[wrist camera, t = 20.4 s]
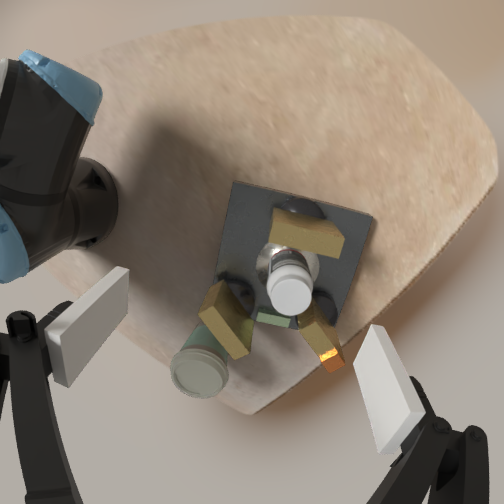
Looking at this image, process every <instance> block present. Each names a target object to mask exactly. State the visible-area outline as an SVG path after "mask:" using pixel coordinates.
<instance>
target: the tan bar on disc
mask: <svg viewBox="0 0 504 504" xmlns="http://www.w3.org/2000/svg"><path fill="white" fill-rule="evenodd" d="M311 295H312V298H311V303H310V305H309V306H308V308H307V309H306V310H305V311H304V312H302V313H300V314H297V315H295V321H296V324H297V326H298V327H299V332H300V333H301V334H302V336H303V337H304V338H305V340H306V341H307V342H308V344H309V345H310V346H311V348H312V349H313V350H314V352H315V353H316V354H317V356H318V357H319V358H320V360H321V363H322V364H323V366H324V367H325V368H326V369H327V371H328V372H329V373H331V372H333V371H335V370H337V369H339V368H341V367H343V366H345V360H344V357H343V353H342V349H341V346H340V342H339V339H338V335H337V332H336V330H335V328H334V327H333V326H334V325H335V323H336V321H337V318H338V311H337V308H336V305H335V302H334V300H333V299H332V297H331V296H329V295H328V294H326V293H323V292H312V294H311Z"/></svg>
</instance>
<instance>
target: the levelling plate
mask: <svg viewBox="0 0 504 504" xmlns="http://www.w3.org/2000/svg"><path fill="white" fill-rule="evenodd" d="M294 197H304V196H300V195H296V194H292V193H288V192H284V191H279V190H275V189H271V188H267V187H262V186H258V185H253V184H249V183H244V182H240V181H234V182H233V186H232V191H231V195H230V200H229V205H228V210H227V215H226V220H225V225H224V230H223V235H222V240H221V245H220V250H219V256H218V261H217V266H216V271H215V277H214V282H213V285H214V284H216V283H218V282H219V281H221V280H223V279H224V281H225V280H229V279H237V280H241V281H243V282H245V283H246V284H248V285H249V286H250V287H251V288H252V290H253V292H254V295H255V305H254V310H253V313H252V315H251V316H250V317H251V318H252V319H253V320H254V321H258V322H263V323H267V324H272V325H277V326H282V327H287V328H292V329H297V330H299V327H298V326H297V324H296V321H295V315H293V316H289V315H284V314H281V313H279V312H278V311H277V310H276V309H275V308H274V307H273V305H272V302H271V299H270V297H269V295H268V293H267V271H268V263H269V261H270V259H271V257H272V256H273V255H274V254H275V253H276V252H278V251H280V250H283V249H293V250H296V251H298V252H300V253H301V254H302V255H303V256H304V257H305V259H306V260H307V263H308V266H309V270H310V274H311V277H312V281H313V291H312V292H323V293H326V294H328V295H329V296H331V297H332V299H333V300H334V302H335V305H336V308H337V311H338V317H339V315H340V312H341V310H342V307H343V304H344V302H345V299H346V296H347V293H348V291H349V288H350V285H351V282H352V279H353V277H354V274H355V271H356V268H357V265H358V262H359V259H360V256H361V253H362V250H363V247H364V244H365V240H366V237H367V234H368V231H369V228H370V224H371V221H372V218H373V217H372V216H371V215H370V214H368V213H364V212H360V211H357V210H353V209H350V208H346V207H342V206H339V205H335V204H331V203H327V202H324V201H320V200H316V199H312V198H309V199H311V200H313V201H314V202H316V203H317V204H318V206H319V207H320V208H321V210H322V211H323V213H324V216H325V220H328V221H332V222H333V223H334V224H335V226H336V227H337V228H338V230H339V231H340V232H341V234H342V235H343V236H344V238H345V240H344V243H343V247H342V250H341V253H340V256H339V259H337V258H333V257H329V256H325V255H321V254H316V253H312V252H308V251H304V250H299V249H295V248H291V247H287V246H282V245H278V244H274V243H269V242H268V238H269V225H270V221H271V216H272V212H273V208H274V207H275V208H279V209H280V207H281V206H282V205H283V204H284V203H285V202H286V201H287V200H289V199H291V198H294ZM306 198H308V197H306ZM337 320H338V318H337ZM336 323H337V321H336ZM336 323H335V325H336ZM335 325H334V326H333V327H334V328H335Z"/></svg>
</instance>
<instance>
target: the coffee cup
mask: <svg viewBox="0 0 504 504" xmlns="http://www.w3.org/2000/svg"><path fill="white" fill-rule="evenodd" d="M227 353H228V352H227V351H226V350H225V348H224V347H223V346H222V345H221V344H220V342H219V341H218V340H217V339H216V337H215V336H214V335H213V334H212V332H211V331H210V330H209V329H208V327H207V326H206V325H205V324H204V322H201V323H199V324H198V325H197V327H196V328H195V330H194V331H193V332H192V334H191V335H190V337H189V338H188V340H187V341H186V343H185V344H184V346H183V347H182V349H181V350H180V352H178V353H177V354H176V355H175V356H174V357H173V359H172V361H171V366H170V371H171V378H172V381H173V383H174V385H175V386H176V387H177V388H178V389H179V390H180V391H182V392H183V393H184V394H186V395H189V396H191V397H195V398H210V397H213V396H215V395H217V394H218V393H219V392H220V391H221V390H222V389H223V388H224V386H225V385H226V383H227V381H228V370H227Z"/></svg>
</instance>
